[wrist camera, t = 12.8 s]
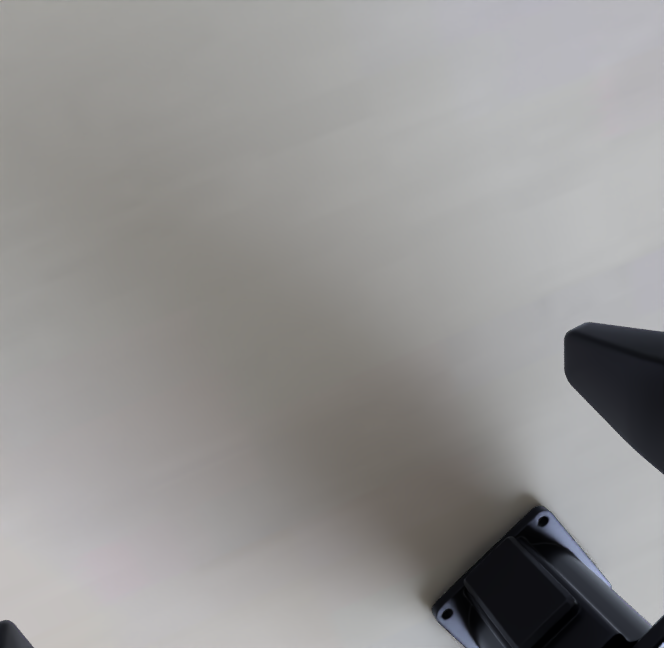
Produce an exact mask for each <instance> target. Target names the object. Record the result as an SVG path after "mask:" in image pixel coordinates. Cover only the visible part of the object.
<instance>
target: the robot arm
mask: <svg viewBox="0 0 664 648" xmlns="http://www.w3.org/2000/svg"><path fill="white" fill-rule="evenodd" d="M564 370H565V375H566V377H567V380H568V381H569V383H570V384H571V385H572V386H573V388H574V389H575V390H576V391H577V392H578V393H579V394H580V395H581V396H582V397H583V398H584V399H585V400H586V401H587V402H588V403H589V404H590V405H591V406H592V407H593V408H594V409H595V410H596V411H597V412H598V413H599V414H600V415H601V416H602V417H603V418H604V419H605V420H606V421H607V422H608V423H609V424H610V426H611V427H612V428H613V429H614V430H615V431H616V432H617V433H618V434H619V435H620V436H621V437H622V438H623V439H624V440H625V441H626V442H627V443H628V444H629V445H630V446H631V447H632V448H633V449H635V450H636V451H637V452H638V453H639V454H640V455H641V456H643V457H644V458H645V459H646V460H647V461H648V462H649V463H651V464H652V465H653V466H654V467H655V468H657V469H658V470H659V471H660V472H661V473H663V474H664V332H660V331H652V330H645V329H637V328H630V327H622V326H615V325H607V324H600V323H592V322H587V323H584V324H581V325H579V326H577V327H576V328H574V329H572V330H570V331H568V332H567V333H566V335H565V338H564ZM541 517H542V518H541ZM540 518H541V520H539V519H540ZM538 520H539V521H538ZM611 588H612V586H611V584H610V582H609V581H608V580H607V579H606V578H605V576H604V575H603V574H602V573H601V572H600V570H599V569H598V568H597V567H596V566H595V564H594V563H593V562H592V561H591V560H590V558H589V557H588V556H587V555H586V554H585V552H584V551H583V550H582V549H581V548H580V546H579V545H578V544H577V543H576V542H575V540H574V539H573V538H572V537H571V536H570V534H569V533H568V532H567V531H566V529H565V528H564V527H563V526H562V525H561V523H560V522H559V521H558V520H557V519H556V517H555V516H554V515H553V514H552V513H551V512H550V511H549V510H548V509H547V508H545V507H544V506H537V507H535V508H533V509H532V510H531V511H530V512H529V513H528V514H527V515H525V516H524V517H523V518H522V519H521V520H520V521H519V522H518V523H517V524H516V525H515V526H514V527H513V528H512V529H511V530H510V531H509V532H508V533H507V534H506V535H505V536H504V537H503V538H502V539H501V540H500V541H499V542H497V543H496V544H495V545H494V546H493V547H492V548H491V549H490V550H489V551H488V552H487V553H486V554H485V555H484V556H483V557H482V558H481V559H480V560H479V561H478V562H477V563H476V564H475V565H474V566H473V567H472V568H471V569H469V570H468V571H467V572H466V573H465V574H464V575H463V576H462V577H461V578H460V579H459V580H458V581H457V582H456V583H455V584H454V585H453V586H452V587H451V588H450V589H449V590H448V591H447V592H446V593H445V594H444V595H442V596H441V597H440V598H439V599H438V600H437V601H436V603H435V604H434V605H433V608H432V613H433V615H434V616H435V618H436V620H437V621H438V623H439V624H441V625H442V626H443V627H444V628H445V629H446V630H447V631H448V632H449V633H450V634H451V635H452V636H453V637H455V638H456V639H457V640H458V641H459V642H460V643H461V644H462V645H463V646H464V647H465V648H664V615H663V616H662V617H661V618H660V619H659V620H658V621H657V622H656V623H655V624H654V625H653V626H652V625H651V624H650V623H649V622H648V621H647V620H645V619H644V618H643V617H642V616H641V615H640V614H639V613H638V612H637V611H636V610H634V609H633V608H632V607H631V606H630V605H629V604H628V603H627V602H626V601H625V600H623V599H622V598H621V597H620V596H619V595H618V594H617V593H616V592H615V591H614V590H612V589H611ZM446 609H447V611H445V610H446ZM444 611H445V612H444ZM443 612H444V613H443ZM0 648H34V647H33V646H32V645H31V644H30V642H29V641H28V640H27V639H26V638H25V636H24V635H23V634H22V633H21V631H20V630H19V629H18V628H17V627H16V625H15V624H14V623H12V622H11V621H9V620H3V621H1V622H0Z"/></svg>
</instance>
